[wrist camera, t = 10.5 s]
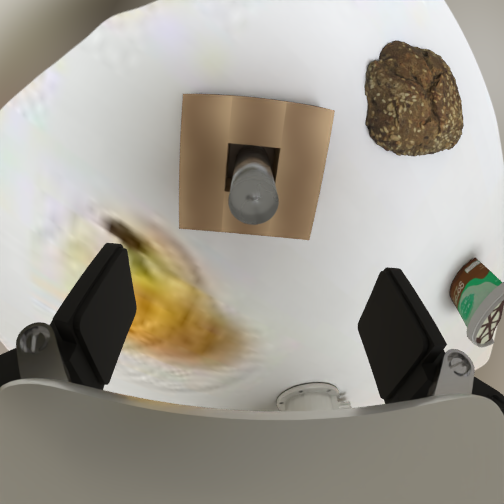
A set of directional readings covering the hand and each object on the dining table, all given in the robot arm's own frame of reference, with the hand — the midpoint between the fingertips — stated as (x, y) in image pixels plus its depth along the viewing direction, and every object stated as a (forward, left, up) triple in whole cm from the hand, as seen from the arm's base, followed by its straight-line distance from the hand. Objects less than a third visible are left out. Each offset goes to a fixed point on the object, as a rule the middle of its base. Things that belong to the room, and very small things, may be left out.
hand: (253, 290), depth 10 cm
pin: (0, 0, -19) cm, 19 cm away
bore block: (0, 0, -20) cm, 20 cm away
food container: (-35, +14, -20) cm, 43 cm away
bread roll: (-16, -10, -21) cm, 28 cm away
